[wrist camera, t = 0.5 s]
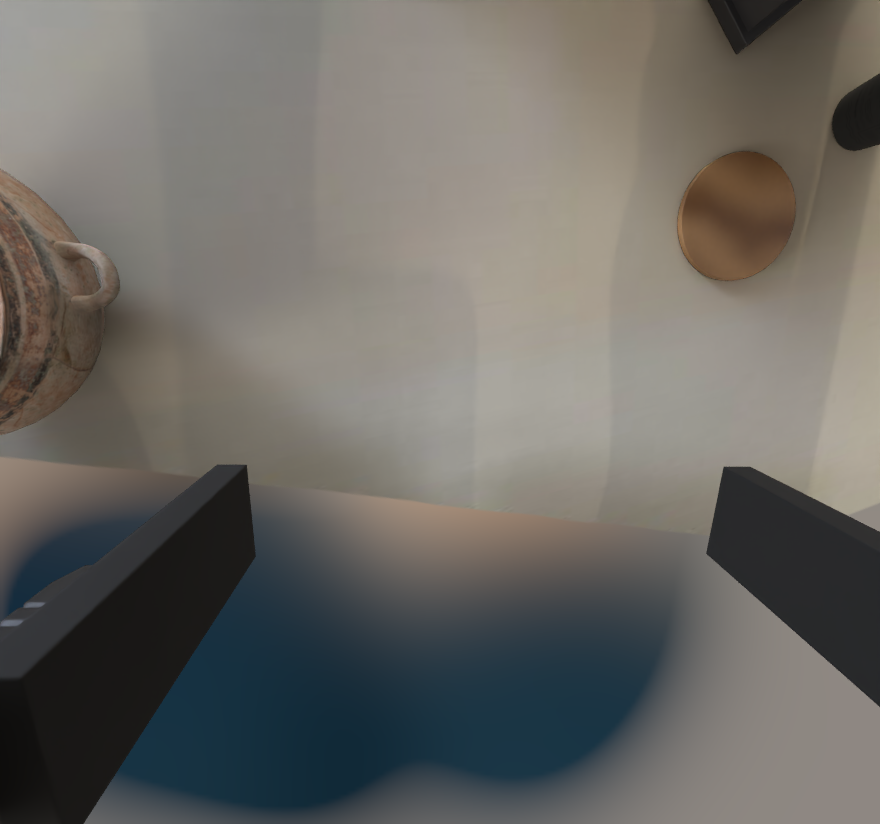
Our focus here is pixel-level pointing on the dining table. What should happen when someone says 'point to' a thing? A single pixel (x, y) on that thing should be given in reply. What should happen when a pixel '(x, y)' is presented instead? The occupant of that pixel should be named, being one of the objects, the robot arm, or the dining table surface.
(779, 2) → the coffee maker
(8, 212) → the cooking pot
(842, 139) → the drinking cup
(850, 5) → the dining table surface
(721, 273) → the coaster
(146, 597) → the robot arm
